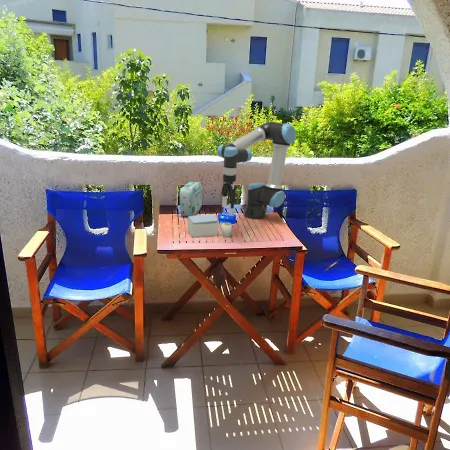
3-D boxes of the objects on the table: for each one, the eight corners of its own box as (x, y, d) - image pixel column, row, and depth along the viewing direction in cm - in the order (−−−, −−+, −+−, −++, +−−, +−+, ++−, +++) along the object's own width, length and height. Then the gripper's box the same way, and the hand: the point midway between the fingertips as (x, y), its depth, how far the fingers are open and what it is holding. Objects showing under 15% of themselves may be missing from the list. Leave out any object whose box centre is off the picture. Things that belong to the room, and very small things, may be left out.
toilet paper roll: (229, 233, 259) (229, 222, 257) (232, 236, 254) (233, 225, 251) (220, 233, 257) (220, 222, 255) (223, 237, 252) (223, 226, 249)
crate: (212, 228, 265) (212, 216, 262) (218, 235, 255) (218, 222, 252) (187, 230, 260) (187, 218, 257) (192, 237, 249) (192, 224, 247)
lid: (212, 215, 262) (212, 214, 262) (218, 221, 252) (218, 220, 251) (188, 217, 257) (188, 216, 257) (193, 224, 247) (193, 222, 246)
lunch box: (193, 219, 279) (193, 188, 271) (178, 218, 280) (178, 187, 273) (203, 208, 303) (204, 179, 296) (189, 206, 305) (190, 177, 298)
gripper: (217, 169, 252) (215, 204, 259) (230, 179, 231) (228, 216, 238) (228, 169, 254) (226, 203, 262) (243, 179, 233) (240, 215, 241)
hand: (227, 209), depth 250 cm, fingers open, 11 cm apart
